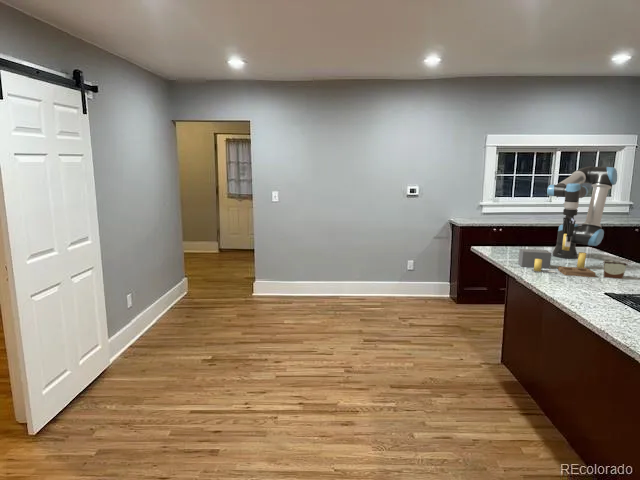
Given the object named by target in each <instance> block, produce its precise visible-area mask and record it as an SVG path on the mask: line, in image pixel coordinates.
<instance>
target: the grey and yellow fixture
mask: <svg viewBox="0 0 640 480" xmlns="http://www.w3.org/2000/svg"><path fill="white" fill-rule="evenodd" d="M541 267H542V259H535V263H534V268H532V269H531V271H532V272H533V271H534V272H533V273H542V272H543V274H558V272H557V271H556V270H550V269H546V270H545V269H542V268H541Z"/></svg>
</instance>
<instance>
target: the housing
mask: <svg viewBox="0 0 640 480" xmlns="http://www.w3.org/2000/svg"><path fill="white" fill-rule="evenodd" d="M518 252H519V253H518V261H517V262H518V263H517V264H518V265H519V266H520V267H521V268H528V269H529V268H530V269H531V268H532V269H534V263H535V259H542V267H541V269H544V270H545V269H546V270H550V269H551V262H552V261H551V260H552V255H553V252H550V251H549V250H547V249H546V250H544V249H528V248H527V249H526V248H519V251H518Z"/></svg>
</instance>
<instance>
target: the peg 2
mask: <svg viewBox="0 0 640 480" xmlns="http://www.w3.org/2000/svg"><path fill="white" fill-rule="evenodd" d="M586 257H587V253H586V252H582V251H579V252H578V254H577V262H576V263H577V265H576V267H577V268H585V265H586Z"/></svg>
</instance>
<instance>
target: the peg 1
mask: <svg viewBox="0 0 640 480" xmlns="http://www.w3.org/2000/svg"><path fill="white" fill-rule="evenodd" d="M566 235H567V234H564V237H563V245H562V250H566V251H569V248H570V247H565V241H566Z"/></svg>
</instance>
